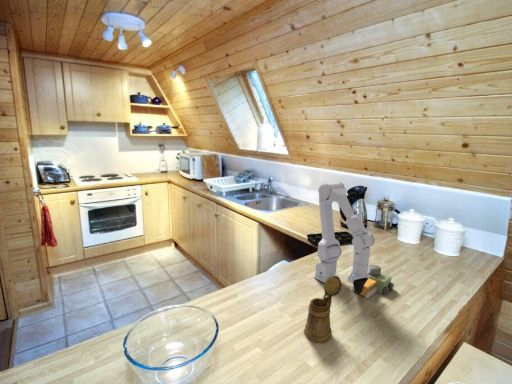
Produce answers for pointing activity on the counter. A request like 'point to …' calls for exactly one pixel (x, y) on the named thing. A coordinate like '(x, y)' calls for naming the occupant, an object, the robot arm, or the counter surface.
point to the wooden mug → (322, 312)
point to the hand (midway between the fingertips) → (357, 292)
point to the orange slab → (368, 286)
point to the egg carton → (343, 239)
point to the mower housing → (378, 281)
